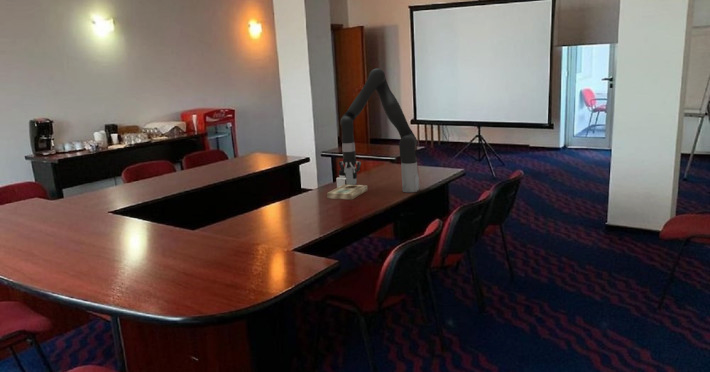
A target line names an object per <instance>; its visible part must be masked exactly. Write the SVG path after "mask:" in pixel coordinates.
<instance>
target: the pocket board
mask: <svg viewBox="0 0 710 372" xmlns="http://www.w3.org/2000/svg"><path fill="white" fill-rule="evenodd" d="M368 191H369V190H368V185H366V184H354V185H345V184H343V185H341V186H339V187H338V188H337V187H336V188H334V189H332V190H330V191H328V192H326V197H327V199H332V200H333V199H337V200H354V199H355V198H357V197H359V196H360V195H362V194H364V193H365V192H368Z"/></svg>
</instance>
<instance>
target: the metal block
mask: <svg viewBox="0 0 710 372" xmlns="http://www.w3.org/2000/svg"><path fill="white" fill-rule="evenodd" d="M344 169H345V173H346V185H357V178H356V179H354V174H353V173H354V172H353V168H351V167H347V168H345V167H344Z"/></svg>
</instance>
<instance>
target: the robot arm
mask: <svg viewBox="0 0 710 372" xmlns="http://www.w3.org/2000/svg"><path fill="white" fill-rule="evenodd" d="M374 91H376V93H377V94H378V97H379V99H380V103H381V106H382V108H383V110H384V112H385V115H386V117H387V119H389V121H390V123H391V124H392V125H393V126H394V128H395V129H396V131H397V132H398V134H399V137H400V139H399V143H398V145H399V146H398V147H399V157H400V161H401V163H400V166H401V167H400V168H401V184H402V185H401V186H402V192H403V193H418V192H419V191H420V178H419V177H420V174H419V173H418V158H417V155H416V147H417V145H418V140H417V137H416V135H415V134H414V132H413V130H412V129H411V127H410V126H409V125H410V124H408V120H407V119H406V116H405V114H404V111H403V109H402V107H401V105H400V103H399V101H398V100H397V98H396V96H395V95H394V93H393V92H392V91H391V88H390V86H389V84H388V82H387V77H386V74H385V71H384V70H383V69H382V68H374V69H372V70H371V71H370V72H369V74H368V77H367V80H366V82H365V83H364V85H363V86H362V89H360V91H359V93H358V94H357V95H356V97H355V98H354V99H353V102H352V103H351V104H350V106H349V108H348V109H347V110H346V112H344V114H343V115H342V116H341V118H340V122H339V123H340V127H341V143H342V144H341V145H342V146H341V147H342V149H341V151H342V161H339V162H338V166H339V167H340V170H341V171H342V172H344V173H345V168H347V167H351V168H353V172H354V173H353V174H354V179H356V180H357V178H358V173H357V172H360V171H361V164H362V161H358V160H357V157H356V144H355V136H354V122H355V120H356V118H357V117H358V116H359V115H360V114H361V113H362V111H363V110H364V108H365V106H366V105H367V103H368V101H369V100H370V98H371V96H372V95H373V93H374ZM345 178H346V173H345Z"/></svg>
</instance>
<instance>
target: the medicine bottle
mask: <svg viewBox="0 0 710 372" xmlns="http://www.w3.org/2000/svg"><path fill="white" fill-rule="evenodd" d="M338 176H339V177H336V188H338V187H339V186H341V185H343V184H345V185H346V178H345V173H344V172H342V171H341V169H340V170H339V171H338Z"/></svg>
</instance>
